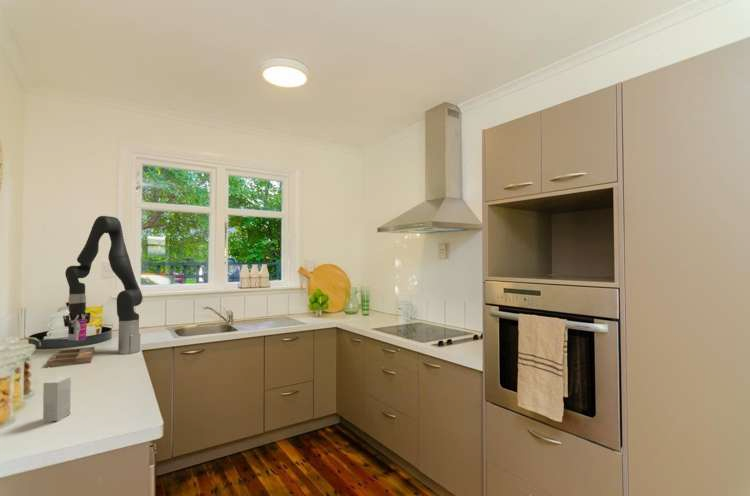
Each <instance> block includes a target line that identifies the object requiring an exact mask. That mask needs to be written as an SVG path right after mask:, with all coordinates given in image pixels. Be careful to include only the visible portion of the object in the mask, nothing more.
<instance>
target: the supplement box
mask: <svg viewBox="0 0 750 496" xmlns="http://www.w3.org/2000/svg"><path fill="white" fill-rule="evenodd" d="M71 321H74V320H71ZM71 324H72V323H71ZM73 327H74V334H69V327H67V328H68V329H67V331H68V332H67V333H68V334H67V335H68V336H67V342H73V343H77V342H80V341H86V340H87V324H86V319H80V320H75V323H74V326H73Z"/></svg>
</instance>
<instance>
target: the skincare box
mask: <svg viewBox="0 0 750 496" xmlns="http://www.w3.org/2000/svg"><path fill="white" fill-rule="evenodd" d="M71 378H72V377H71V376H59V377H57V376H56V377H55V378H51V379H50V380H47V381H45V382H43V393H42V397H43V399H42V401H43V403H42V405H43V406H42V407H43V408H42V409H43V410H42V411H43V412H42V413H43V414H42V419H43V420H42V422H43V423H51V422H50V421H57V422H59V421H61V420H63V419H64V418H66V417H68V416H69V415H71V397H72V396H71V395H72V394H71V389H72V388H71V385H72V383H71V382H72V379H71ZM67 415H68V416H67ZM60 419H61V420H60Z"/></svg>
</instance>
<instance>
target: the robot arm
mask: <svg viewBox="0 0 750 496" xmlns="http://www.w3.org/2000/svg"><path fill="white" fill-rule="evenodd" d="M105 234H108V236H109V239H110V248H109V251H108V261H109V265H110V268H111V270H112V272H113V273H114V275H115V276H116V277H117V278H118V279H119V280H120V281H121V284H122V285H123V289H124V290H121V291H120V292H119V293H118V294H117V297H116V314H117V317H118V336H117V337H118V343H117V346H118V347H117V351H118V352H117V353H118V354H119V355H129V354H135V353H138V352H141V333H140V315H139V313H137V312H135V307H138V306H140V305H141V304H142V303H143V293H142V291H141V288H140V286H139V283H138V281H137V279H136V277H135V273H134V269H133V267H132V264H131V260H130V256H129V253H128V251H127V247H126V244H125V239H124V233H123V228H122V223H121V221H120V220H119V218H118V217H114V216H110V215H109V216H107V215H100V216H97V217H96V219H95V220H94V222H93V225H92V227H91V230H90V231H89V234H88V238H87V240H86V242H85V244H84V246H83V248H82V249H81V251H80V252H79V254H78V257H77V258H76V261H77V263H78V264H79V265H70V266H68V267H67V268H66V269H65V278H66V281H67V285H68V287H69V289H68V292H69V293H68V312H69V314H67V315H63V317H62V319H63V326H64V327H67V328H68V327H69V334H74V327H73V326H74V323H75V320H80V319H86V325H88V324H90V320H91V315H92V313H91V312H89V311H88V312H86V310H87V297H86V284H85V283H84V282H81V281H80V280H79V279H84V278H86V277H88V275H89V274H90V272H91V268H92V265H93V264H92V263H93V262H94V260H95V259H96V257H97V255H98V253H99V250H100V249H99V246H100V245H99V243H100V240H101V238H102V236H103V235H105ZM71 320H74V321H71ZM71 323H72V324H71Z"/></svg>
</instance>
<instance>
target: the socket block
mask: <svg viewBox="0 0 750 496" xmlns="http://www.w3.org/2000/svg"><path fill="white" fill-rule="evenodd" d="M94 354H95V346H89V347H80V348H68V349H58V350H55V352H54V353H53V354H52V355H51V356H50V358H49V359H48V360H47V368H48V367H50V368H57V367H65V366H66V367H67V366H75V365H84V364H91V363H92V360H93V358H94V357H93V356H94ZM48 369H49V368H48Z"/></svg>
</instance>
